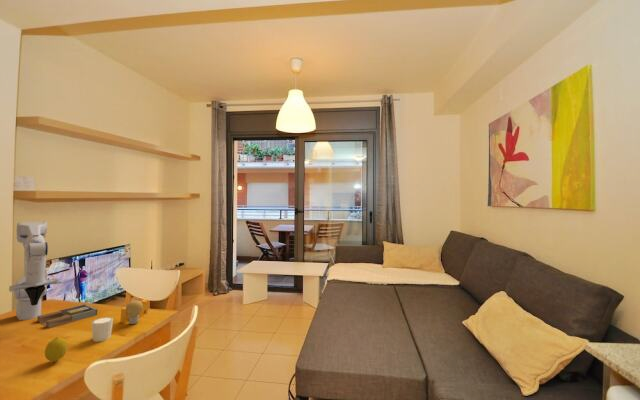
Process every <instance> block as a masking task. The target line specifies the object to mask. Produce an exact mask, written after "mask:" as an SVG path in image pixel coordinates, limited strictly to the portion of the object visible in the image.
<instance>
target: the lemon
mask: <svg viewBox="0 0 640 400" xmlns="http://www.w3.org/2000/svg"><path fill="white" fill-rule="evenodd" d="M67 350H68V343H67V341H66V339H65V338H62V337H55V338H52V340H50V341H49V342H48V343H47V344H46V347H45V350H44V357H45V359H46V360H47V361H50V362H54V363H55V362H58V361H59V360H61V359H62V358H63V357H64V356H65V355H66V353H67Z"/></svg>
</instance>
